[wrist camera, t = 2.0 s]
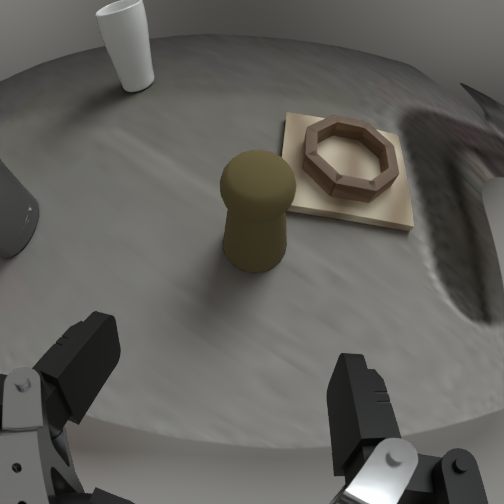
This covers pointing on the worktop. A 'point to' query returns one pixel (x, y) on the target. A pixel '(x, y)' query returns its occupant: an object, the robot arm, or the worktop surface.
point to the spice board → (347, 171)
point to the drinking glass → (127, 42)
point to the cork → (256, 209)
